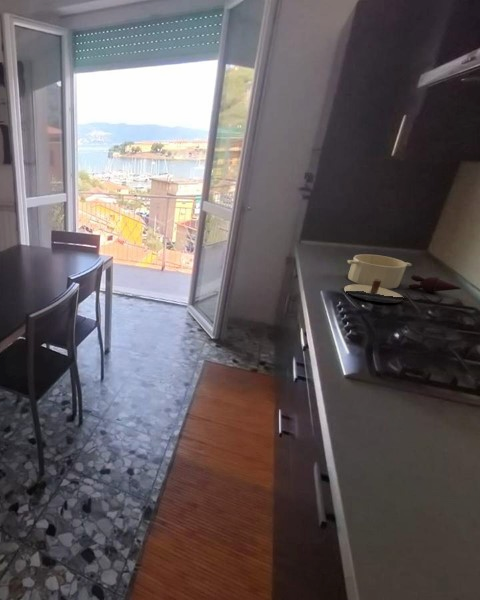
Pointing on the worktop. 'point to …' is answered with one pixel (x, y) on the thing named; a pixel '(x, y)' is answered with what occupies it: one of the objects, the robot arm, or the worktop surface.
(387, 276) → the pot
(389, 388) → the worktop surface
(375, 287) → the lid
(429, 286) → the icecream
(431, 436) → the worktop surface
